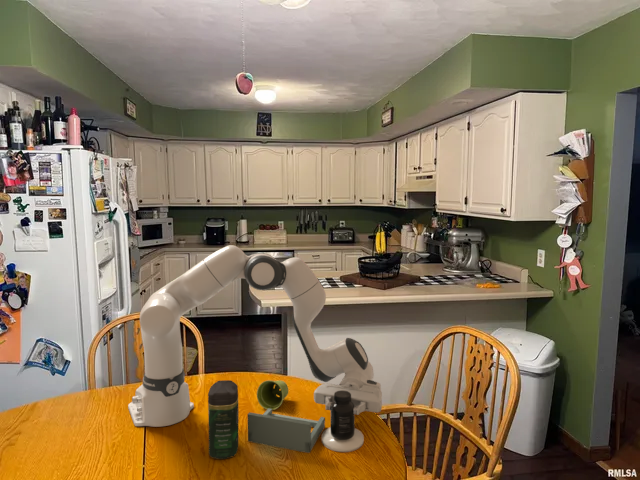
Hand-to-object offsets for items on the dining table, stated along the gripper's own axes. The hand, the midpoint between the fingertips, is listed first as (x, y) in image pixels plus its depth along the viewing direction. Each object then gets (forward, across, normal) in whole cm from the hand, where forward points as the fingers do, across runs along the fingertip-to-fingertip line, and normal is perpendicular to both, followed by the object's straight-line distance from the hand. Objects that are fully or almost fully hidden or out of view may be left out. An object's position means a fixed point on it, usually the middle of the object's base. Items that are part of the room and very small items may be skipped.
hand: (341, 409), depth 124 cm
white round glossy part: (-1, 0, +9) cm, 9 cm away
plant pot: (-20, -27, +7) cm, 34 cm away
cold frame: (+1, -16, +9) cm, 19 cm away
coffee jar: (+14, -29, +10) cm, 34 cm away
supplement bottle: (-1, 0, +8) cm, 8 cm away
